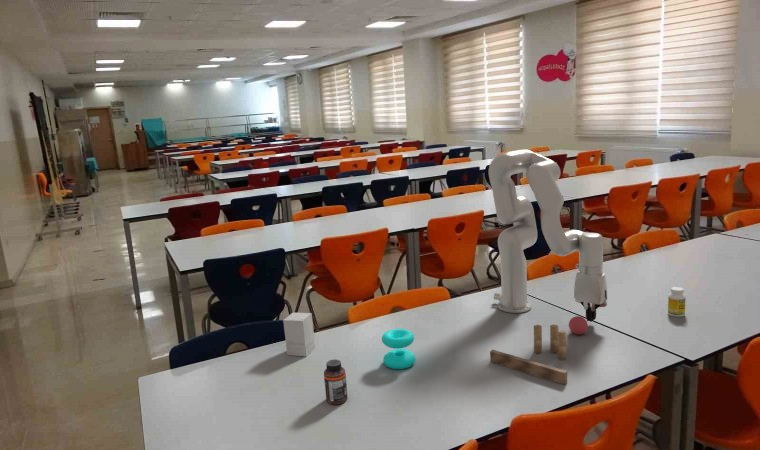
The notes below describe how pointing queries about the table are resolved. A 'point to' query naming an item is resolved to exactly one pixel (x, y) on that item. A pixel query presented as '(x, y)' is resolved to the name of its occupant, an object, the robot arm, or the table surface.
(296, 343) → the supplement box
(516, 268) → the robot arm
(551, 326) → the front pin
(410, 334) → the donuts
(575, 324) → the ball
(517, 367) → the back wall
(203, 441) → the table surface
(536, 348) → the left back pin
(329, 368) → the supplement bottle
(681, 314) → the supplement bottle
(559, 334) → the right back pin
